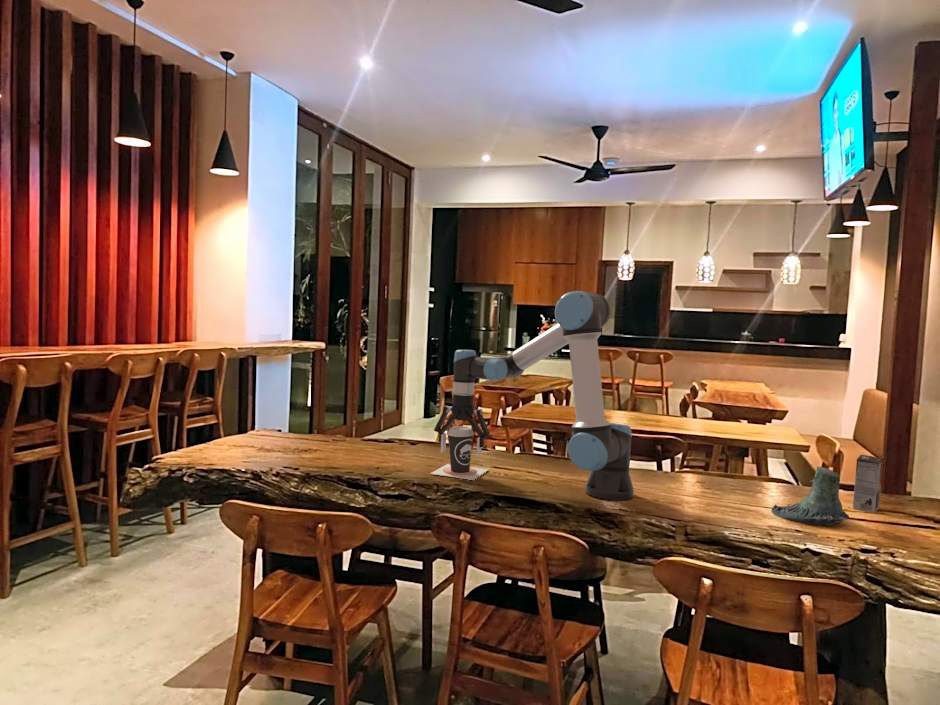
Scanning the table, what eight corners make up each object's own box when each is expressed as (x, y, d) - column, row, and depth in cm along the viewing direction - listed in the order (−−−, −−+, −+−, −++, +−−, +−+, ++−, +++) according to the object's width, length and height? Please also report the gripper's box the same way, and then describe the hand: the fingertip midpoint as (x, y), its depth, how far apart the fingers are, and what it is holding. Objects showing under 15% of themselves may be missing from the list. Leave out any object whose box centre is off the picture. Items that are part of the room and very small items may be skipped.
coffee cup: (475, 467, 228) (475, 426, 227) (472, 474, 218) (473, 431, 217) (448, 466, 228) (448, 425, 228) (444, 473, 219) (445, 430, 218)
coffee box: (856, 503, 207) (860, 454, 206) (879, 507, 203) (884, 457, 202) (851, 509, 200) (855, 458, 199) (875, 513, 196) (880, 462, 195)
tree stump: (787, 505, 203) (807, 453, 199) (852, 538, 188) (874, 483, 184) (759, 511, 192) (779, 456, 188) (825, 547, 177) (848, 488, 173)
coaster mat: (488, 471, 228) (488, 468, 228) (473, 481, 213) (473, 478, 213) (447, 465, 234) (447, 463, 234) (429, 475, 219) (429, 472, 219)
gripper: (500, 395, 221) (497, 456, 222) (435, 390, 230) (432, 448, 231) (493, 398, 214) (490, 460, 215) (426, 392, 223) (424, 452, 224)
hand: (460, 454), depth 223 cm, fingers open, 13 cm apart
